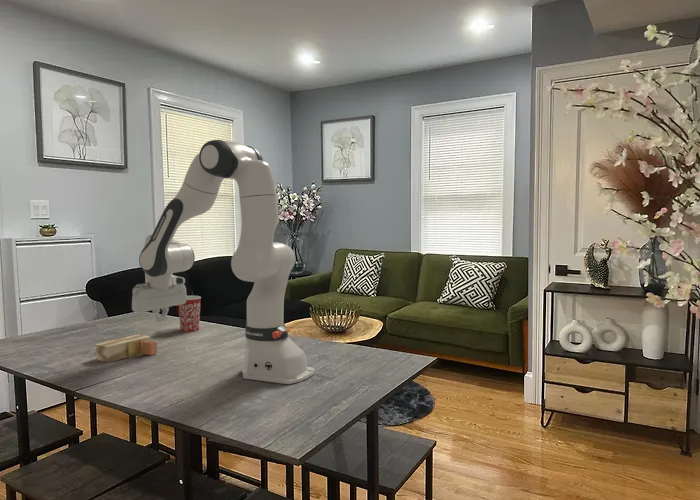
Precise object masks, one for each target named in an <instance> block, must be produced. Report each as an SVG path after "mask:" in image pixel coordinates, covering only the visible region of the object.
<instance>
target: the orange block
mask: <svg viewBox="0 0 700 500" xmlns="http://www.w3.org/2000/svg"><path fill="white" fill-rule="evenodd" d="M142 354H144V355H147V356H148V355H149V356H153V355H157V354H158V342H157V341H154V340H151V339H150V340H148V341H144V342H143V353H142Z"/></svg>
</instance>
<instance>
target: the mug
mask: <svg viewBox="0 0 700 500" xmlns="http://www.w3.org/2000/svg"><path fill="white" fill-rule="evenodd" d="M201 299H202V297H201V296H199V295H187V301H186V303H185V304H181V305H176V310H177V311H176V312H177V314H178V318H179V324H180V325H179V327H180V331H181V332H186V333H187V332H188V333H191V332H196V331H199V330H200V317H201V316H200V315H201Z"/></svg>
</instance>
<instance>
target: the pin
mask: <svg viewBox="0 0 700 500" xmlns="http://www.w3.org/2000/svg"><path fill="white" fill-rule="evenodd" d="M113 340H114V339H109V340H106V341H105V340H104V341H101V343H104V342H108V341H113ZM141 355H142V353H141V341H140V340H138V341H134V342H130V343H126V358H127V359H130V358H133V357H138V356H141Z"/></svg>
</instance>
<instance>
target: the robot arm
mask: <svg viewBox="0 0 700 500" xmlns="http://www.w3.org/2000/svg"><path fill="white" fill-rule="evenodd" d="M190 163H191V164H190V165H189V167H188V169H187V171H186V173H185V177H184V179H183V181H182V184H181V187H180V188H179V191H178V192H177V194H176V195H175V196H174V198H172V199H171V200H170V201H169V202H168V203H167V205H166V206H165V207H164V209H163V212H162V214H161V215H160V218H159V220H158V222H157V224H156V225H155V229H154V230H153V232H152V234H150V235H148V236H146V237H145V240H144V245H143V248H142V250H141V251H140V254H139V258H138V261H139V266H140V269H142V271H143V272H144V277H145V278H144V279H145V280H144V281H145V283H137V284H136V285H135V286H134V287H133V288H132V296H131V310H132V312H134V313H137V314H138V313H146V312H149V311H152V313H153V315H154V316H155V321H156V322H157V323H160V322H165V321H167V315H168V313H169V310H170V307H174V306H176V307H177V305H181V304H185V303H186V301H187V296H188V295H187V294H188V293H187V287H186V285H185V284H186V278H184V277H183V276H177V275H173V274H175V273H182V272H186V271H189V270H190V269H191V268H192V267H193V266H194V263H195V260H196V259H195V252H194V250H193V248H192V247H191V246H190V245H189V244H186V243H182V242H179V241H177V240H175V239H173V238H174V237H175V234H176V233H177V230H178V228H179V227H180V226H181V225H182V224H184V223H185V222H187V221H189V220H191V219H192V218H194V217H198V216H200V215H204V214H205V213H207V212H208V211H210V210H211V209H212V207H213V205H214V204H215V202H216V199H217V196H218V194H219V191H220V188H221V184H222V182H223V181H224V180H225V179H231V180H234V181H235V182H236V183H237V186H238V194H239V195H238V196H239V205H240V216H241V228H240V236H239V237H240V238H239V243H238V246H237V248H236V250H235V251H234V253H233V254H232V257H231V261H230V266H231V270H232V273H233V274H234V276H235V277H236V278H237V279H239V280H241V281H243V282H251V283H253V287H252V289H251V292H250V293H249V295H248V297H247V299H246V324H245V326H244V327H245V329H244V333H245V338H246V339H245V340H246V343H245V350H244V351H245V353H244V359H243V364H242V368H241V373H242V379H243V380H244V379H245V380H254V381H260V382H261V381H262V382H266V383H267V382H269V383H276V384H283V385H291V384H296V383H299V382H302V381H304V380H306V379H308V378H310V377H311V376H313V375H314V374H315V368H314V367H311V366H308V363H307V356H306V353H305V351H304V350H303V349H302V348H301V347H300V346H298V344H296V342H294V341H293V340H292V339H291V338H290V336H289V333H290V332H292V330H291V329H292V328H291V327H289V328H287V327H286V325H285V323H284V314H285V313H284V310H285V307H284V306H285V305H284V304H285V294H286V289H287V285H288V281H289V277H290V274H291V271H292V270H293V268H294V266H295V263H296V255H295V252H294V250H293V249H292V247H291V246H289V245H288V244H284V243H281V242H278V241H275V242H274V239H275V238H274V237H275V232H276V229H277V226H278V225H279V223H280V216H279V215H280V214H279V203H278V196H277V194H278V193H277V187H276V182H275V178H274V174H273V171H272V167H271V166H270V164H269V163H267V162H266V161H265V160H264V158H263V156H262V154H261V153H260V152H259V150H257V149H256V148H255V147H252V146H250V145H244V144H241V143H239V142H237V141H231V140H230V141H229V140H223V139H214V140H213V139H212V140H209V141H205V143H204V144H203V145H202V146H201V148H200V150H199V153H197V154H196V155H195V156H194V158H193V160H192V161H191V162H190ZM160 312H161V314H160Z"/></svg>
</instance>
